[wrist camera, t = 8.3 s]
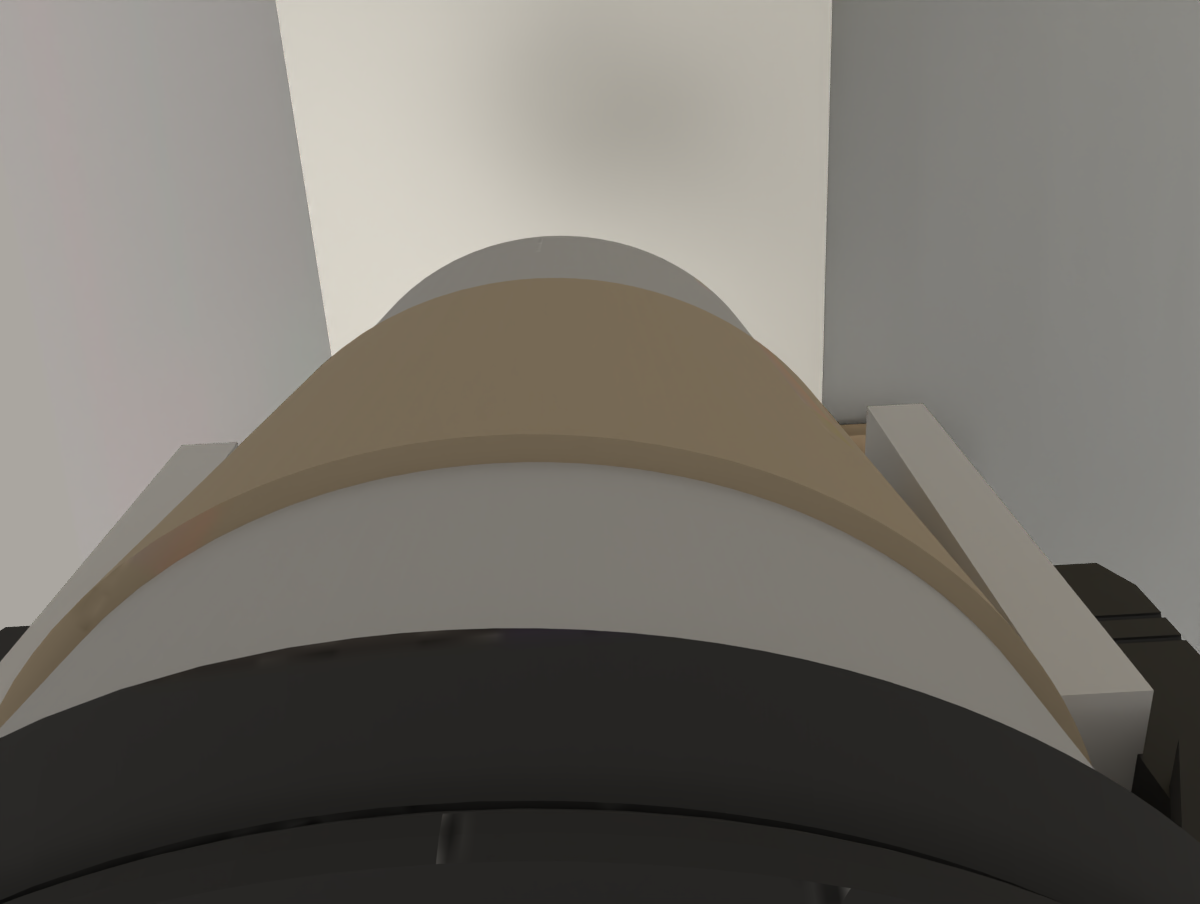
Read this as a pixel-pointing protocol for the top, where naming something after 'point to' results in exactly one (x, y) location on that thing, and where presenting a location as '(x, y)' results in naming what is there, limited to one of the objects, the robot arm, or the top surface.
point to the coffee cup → (555, 645)
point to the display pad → (568, 144)
